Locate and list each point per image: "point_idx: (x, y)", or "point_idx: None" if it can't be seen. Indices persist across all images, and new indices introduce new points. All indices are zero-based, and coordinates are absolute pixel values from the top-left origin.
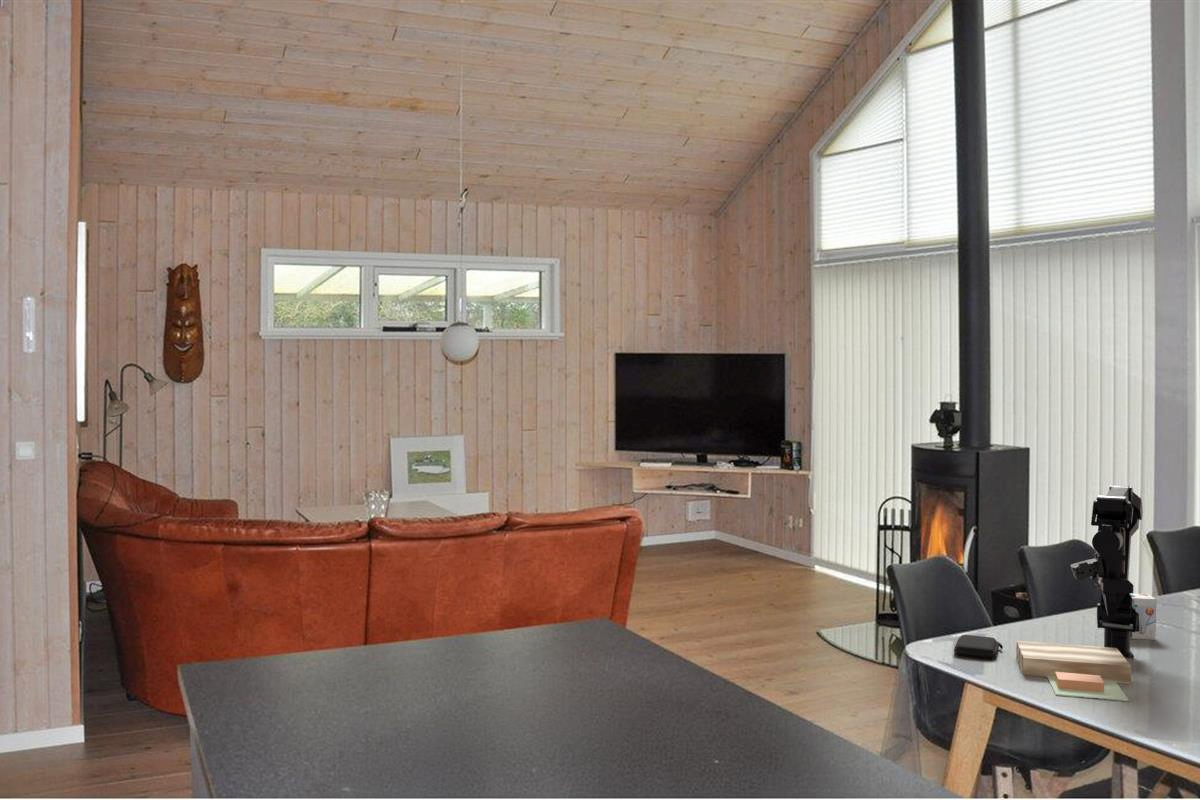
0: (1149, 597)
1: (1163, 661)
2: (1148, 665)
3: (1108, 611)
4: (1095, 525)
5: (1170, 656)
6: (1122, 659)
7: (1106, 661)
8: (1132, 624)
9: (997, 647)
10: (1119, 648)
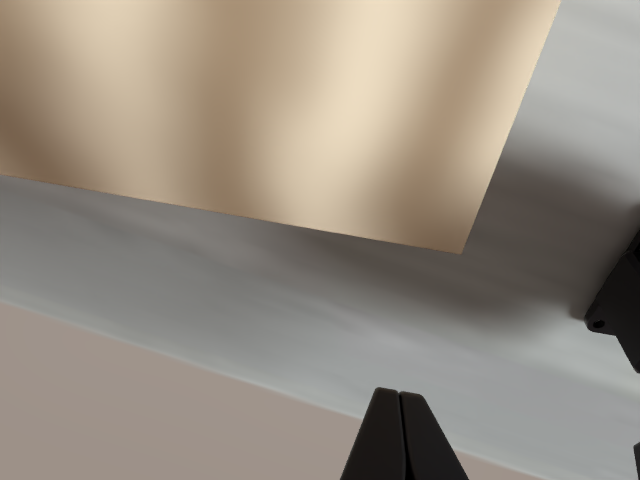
0: None
1: (512, 398)
2: (443, 327)
3: (357, 445)
4: None
5: (590, 444)
6: (144, 180)
7: (28, 43)
8: None
9: None
10: (623, 297)
